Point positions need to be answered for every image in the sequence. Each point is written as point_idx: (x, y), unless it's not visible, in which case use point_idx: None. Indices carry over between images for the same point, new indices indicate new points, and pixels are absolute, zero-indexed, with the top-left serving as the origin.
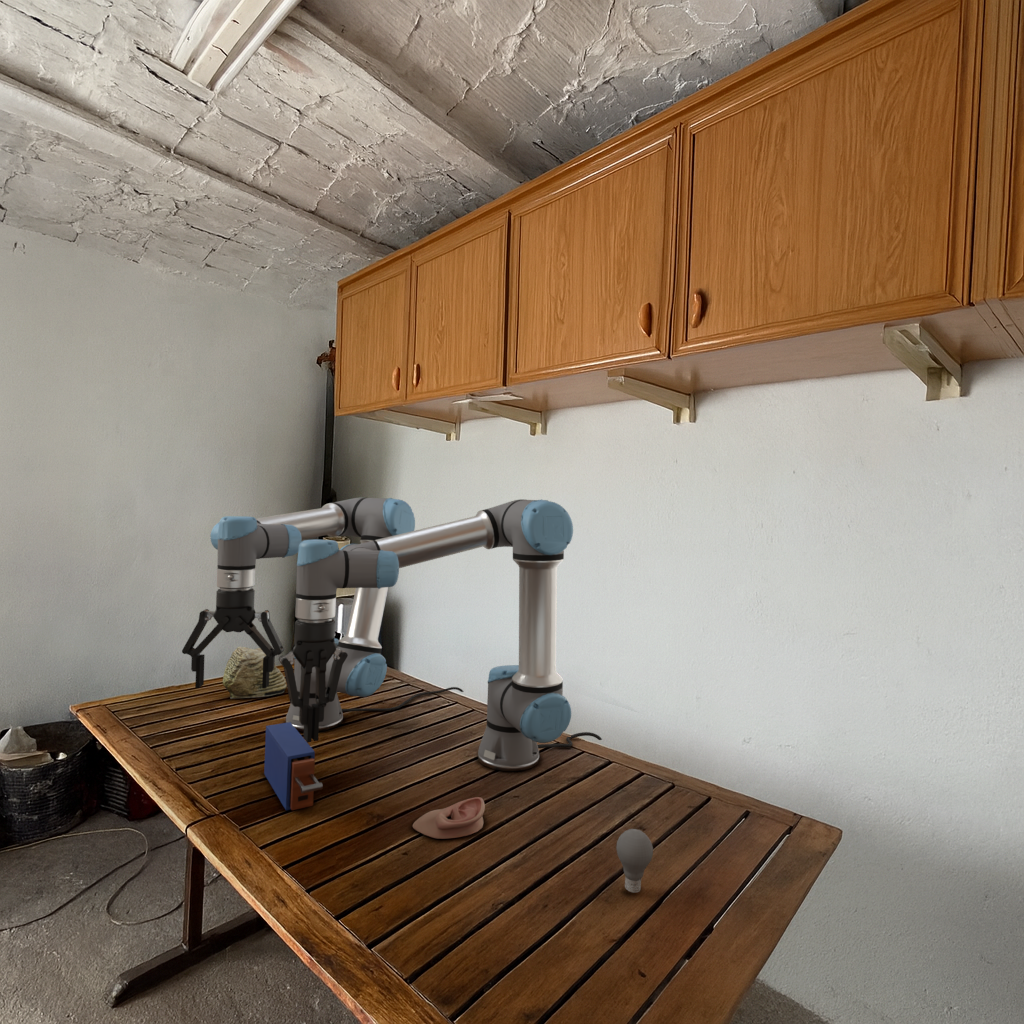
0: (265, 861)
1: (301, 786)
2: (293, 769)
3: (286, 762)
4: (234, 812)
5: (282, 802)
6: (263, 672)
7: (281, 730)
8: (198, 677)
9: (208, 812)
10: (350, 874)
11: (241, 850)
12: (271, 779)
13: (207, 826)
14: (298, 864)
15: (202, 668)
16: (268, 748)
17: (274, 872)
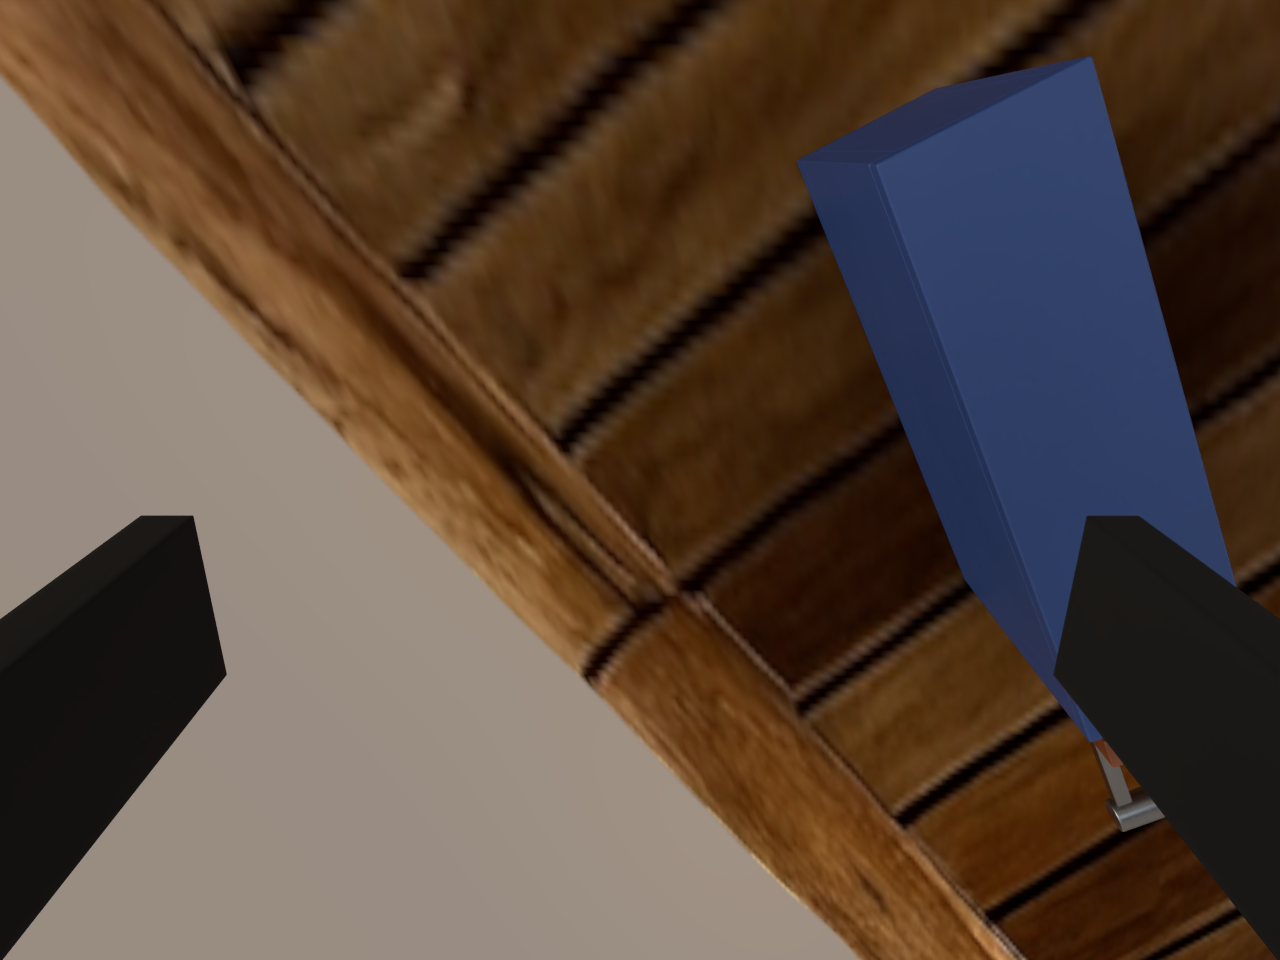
0: (927, 887)
1: (1117, 804)
2: (1097, 747)
3: (1060, 693)
4: (740, 585)
5: (948, 534)
6: (1199, 842)
7: (1022, 287)
8: (131, 772)
9: (627, 581)
10: (1196, 952)
11: (835, 832)
12: (872, 335)
13: (663, 686)
14: (1035, 905)
15: (40, 745)
16: (876, 261)
17: (963, 936)
